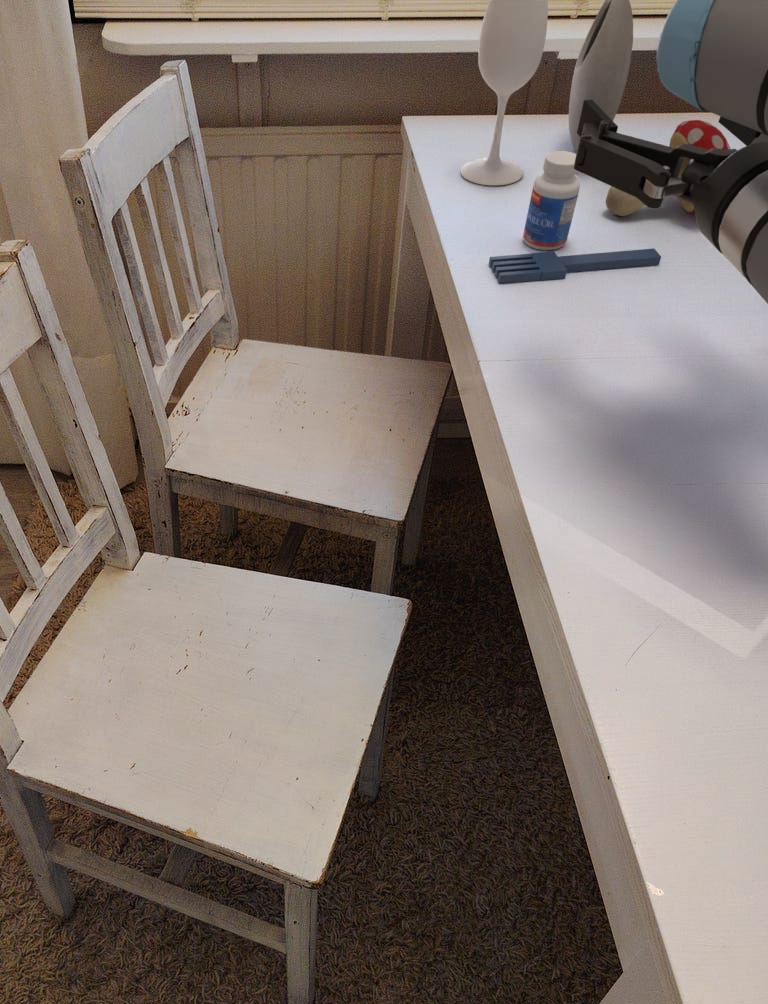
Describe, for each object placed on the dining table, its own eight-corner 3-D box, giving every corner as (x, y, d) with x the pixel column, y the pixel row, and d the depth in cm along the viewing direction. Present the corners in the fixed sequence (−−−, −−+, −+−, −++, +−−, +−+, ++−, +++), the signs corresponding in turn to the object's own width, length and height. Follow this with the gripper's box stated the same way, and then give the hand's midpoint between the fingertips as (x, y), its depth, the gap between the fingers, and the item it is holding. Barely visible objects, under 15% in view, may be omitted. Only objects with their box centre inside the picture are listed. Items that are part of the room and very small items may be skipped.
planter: (561, 126, 126) (593, -28, 112) (609, 129, 125) (648, -26, 110) (553, 175, 115) (588, 12, 101) (605, 179, 114) (648, 14, 99)
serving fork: (647, 251, 101) (650, 243, 100) (663, 270, 98) (666, 261, 97) (488, 264, 100) (489, 256, 99) (499, 284, 97) (500, 275, 96)
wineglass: (508, 157, 119) (539, -24, 103) (532, 182, 114) (568, -5, 98) (452, 164, 118) (473, -18, 102) (473, 189, 113) (499, 1, 97)
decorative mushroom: (605, 149, 99) (736, 92, 96) (587, 168, 110) (704, 117, 106) (627, 243, 102) (755, 191, 98) (608, 253, 113) (723, 206, 109)
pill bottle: (513, 241, 103) (528, 157, 96) (539, 227, 105) (556, 143, 98) (549, 256, 101) (568, 170, 93) (575, 241, 103) (595, 156, 95)
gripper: (592, 275, 65) (516, 165, 78) (896, 248, 66) (769, 144, 79) (619, 173, 59) (531, 73, 72) (952, 145, 60) (805, 52, 73)
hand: (656, 110), depth 76 cm, fingers open, 13 cm apart
